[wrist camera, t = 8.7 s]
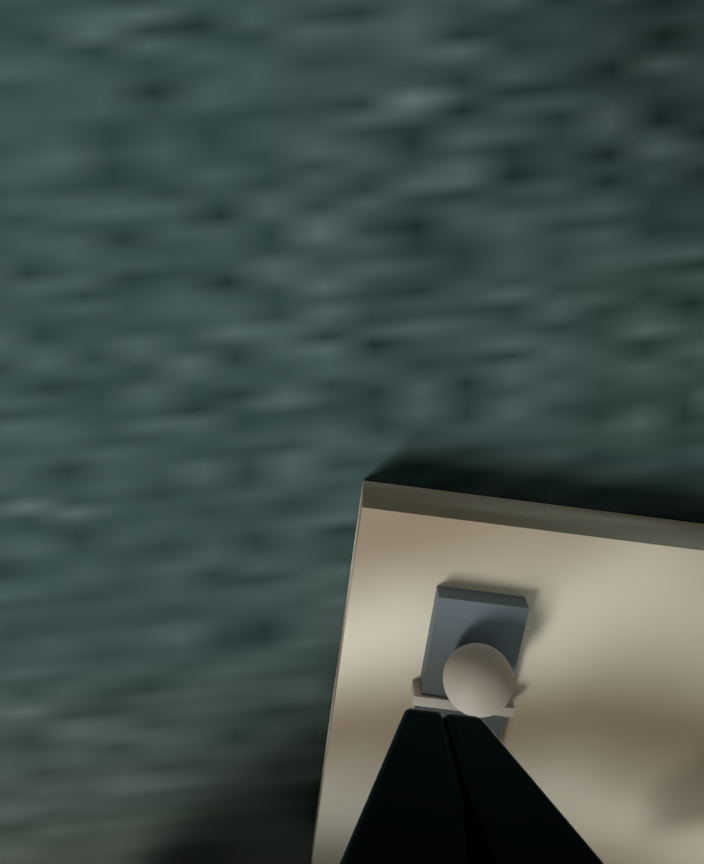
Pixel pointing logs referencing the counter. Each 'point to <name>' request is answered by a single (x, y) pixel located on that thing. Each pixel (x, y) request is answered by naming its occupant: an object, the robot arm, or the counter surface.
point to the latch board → (529, 659)
